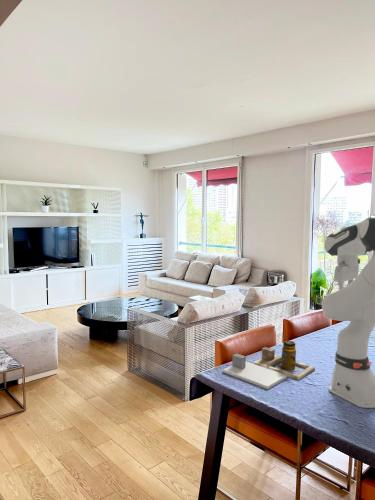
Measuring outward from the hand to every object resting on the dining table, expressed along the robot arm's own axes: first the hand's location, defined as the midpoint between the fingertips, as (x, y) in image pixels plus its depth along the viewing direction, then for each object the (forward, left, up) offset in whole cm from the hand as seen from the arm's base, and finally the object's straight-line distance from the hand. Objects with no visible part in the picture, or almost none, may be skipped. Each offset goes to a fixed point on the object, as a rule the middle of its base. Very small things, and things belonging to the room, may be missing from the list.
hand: (345, 289), depth 181 cm
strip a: (-3, +33, -34) cm, 47 cm away
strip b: (-7, +50, -34) cm, 61 cm away
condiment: (-3, +32, -34) cm, 47 cm away
